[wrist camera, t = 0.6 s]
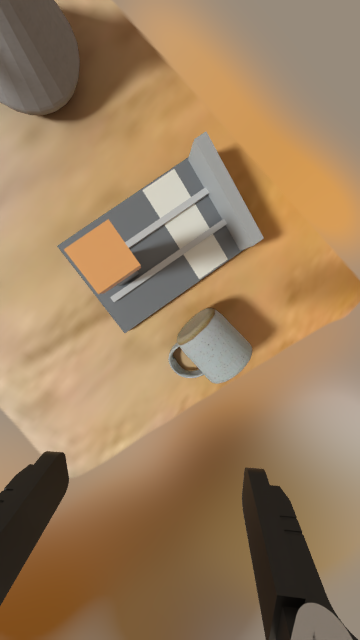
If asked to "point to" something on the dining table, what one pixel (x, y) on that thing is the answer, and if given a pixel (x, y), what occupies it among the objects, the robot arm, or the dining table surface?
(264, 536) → the robot arm
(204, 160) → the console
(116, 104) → the dining table surface
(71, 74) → the coffee pot
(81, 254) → the fader
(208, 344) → the ceramic mug
